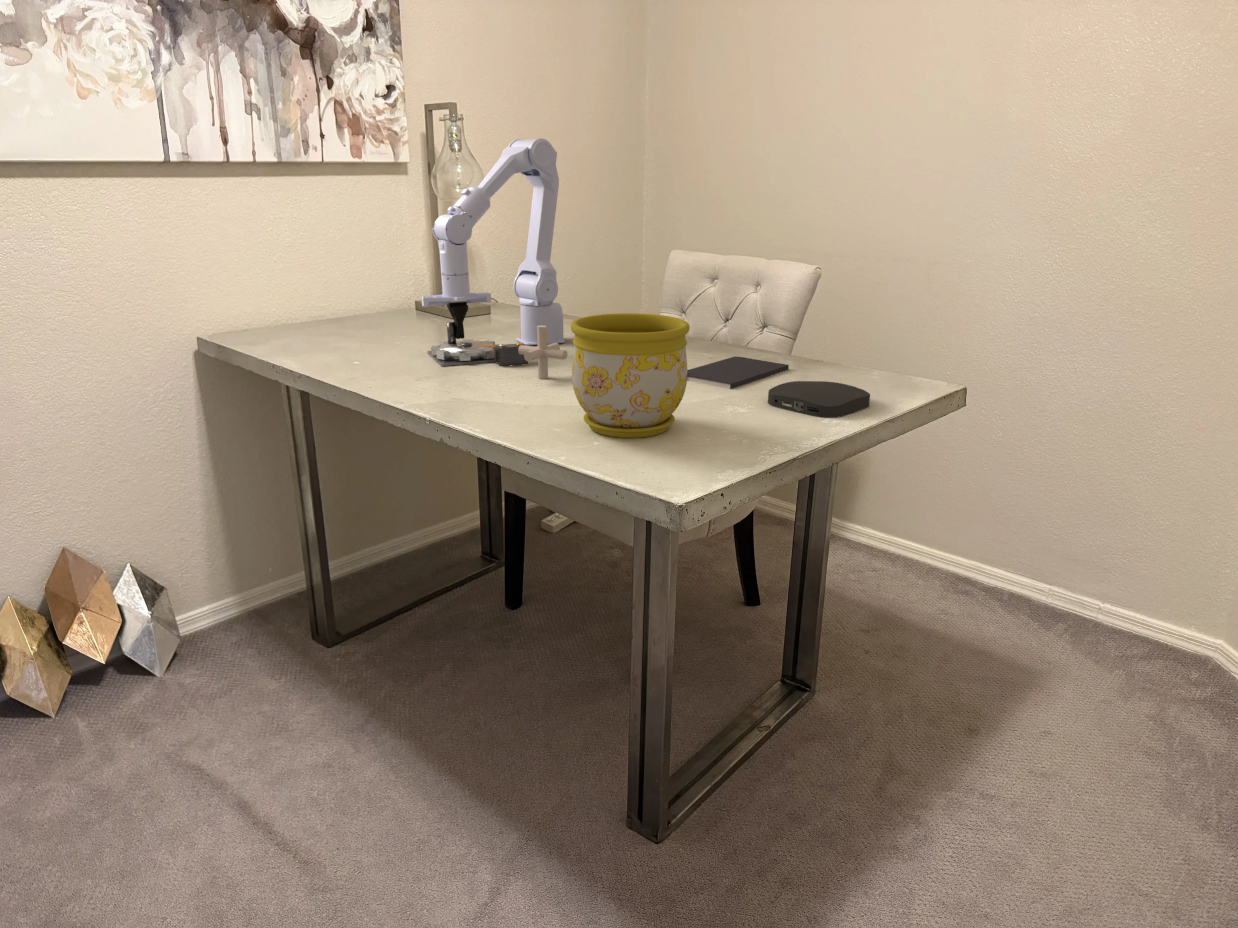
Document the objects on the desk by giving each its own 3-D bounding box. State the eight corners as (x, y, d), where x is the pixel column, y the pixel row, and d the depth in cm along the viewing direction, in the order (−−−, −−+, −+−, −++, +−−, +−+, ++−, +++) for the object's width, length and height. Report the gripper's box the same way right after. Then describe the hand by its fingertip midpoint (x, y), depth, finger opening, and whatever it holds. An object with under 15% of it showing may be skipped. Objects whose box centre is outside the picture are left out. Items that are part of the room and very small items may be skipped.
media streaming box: (877, 406, 147) (879, 389, 146) (831, 422, 138) (832, 404, 137) (806, 390, 157) (807, 375, 156) (758, 405, 148) (759, 388, 147)
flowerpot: (680, 410, 143) (683, 312, 137) (692, 444, 126) (696, 333, 120) (572, 411, 142) (571, 312, 137) (570, 444, 125) (569, 333, 120)
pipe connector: (507, 380, 162) (504, 328, 159) (535, 369, 170) (534, 320, 167) (551, 386, 158) (550, 333, 154) (578, 375, 166) (578, 324, 163)
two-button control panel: (524, 362, 178) (523, 341, 177) (528, 365, 175) (527, 344, 174) (496, 364, 176) (495, 343, 174) (500, 367, 173) (499, 346, 172)
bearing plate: (490, 348, 190) (490, 346, 190) (508, 361, 178) (507, 358, 178) (427, 353, 185) (427, 351, 185) (441, 366, 173) (441, 364, 173)
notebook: (730, 392, 157) (788, 372, 172) (730, 383, 156) (788, 364, 172) (675, 381, 165) (735, 363, 180) (675, 373, 164) (735, 355, 179)
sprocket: (468, 344, 191) (467, 316, 189) (515, 352, 182) (514, 324, 180) (417, 354, 180) (415, 325, 178) (464, 364, 172) (462, 334, 170)
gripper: (424, 278, 173) (429, 344, 177) (493, 274, 178) (497, 338, 183) (417, 274, 179) (422, 338, 183) (484, 270, 184) (488, 332, 189)
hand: (459, 338), depth 183 cm, fingers closed, pressing on sprocket
